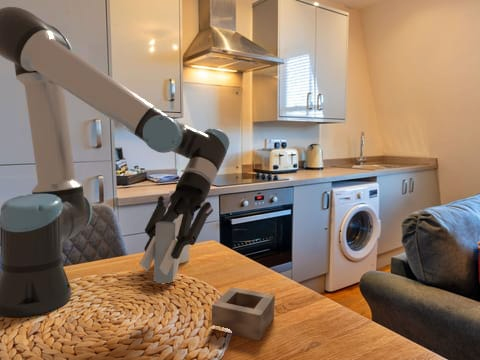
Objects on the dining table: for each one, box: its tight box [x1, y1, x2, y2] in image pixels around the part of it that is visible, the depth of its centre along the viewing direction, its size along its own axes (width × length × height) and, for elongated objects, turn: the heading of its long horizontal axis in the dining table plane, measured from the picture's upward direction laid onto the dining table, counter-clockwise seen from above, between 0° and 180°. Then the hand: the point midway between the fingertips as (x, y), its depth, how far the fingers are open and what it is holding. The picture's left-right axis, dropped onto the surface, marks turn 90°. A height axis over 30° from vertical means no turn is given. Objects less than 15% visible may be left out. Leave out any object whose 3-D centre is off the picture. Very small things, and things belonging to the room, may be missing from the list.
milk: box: [164, 190, 191, 264], centre depth 111 cm, size 6×6×22 cm
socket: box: [211, 287, 276, 342], centre depth 74 cm, size 10×10×5 cm
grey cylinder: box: [153, 221, 175, 284], centre depth 75 cm, size 4×4×12 cm
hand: (153, 268), depth 72 cm, fingers closed on grey cylinder, 4 cm apart
